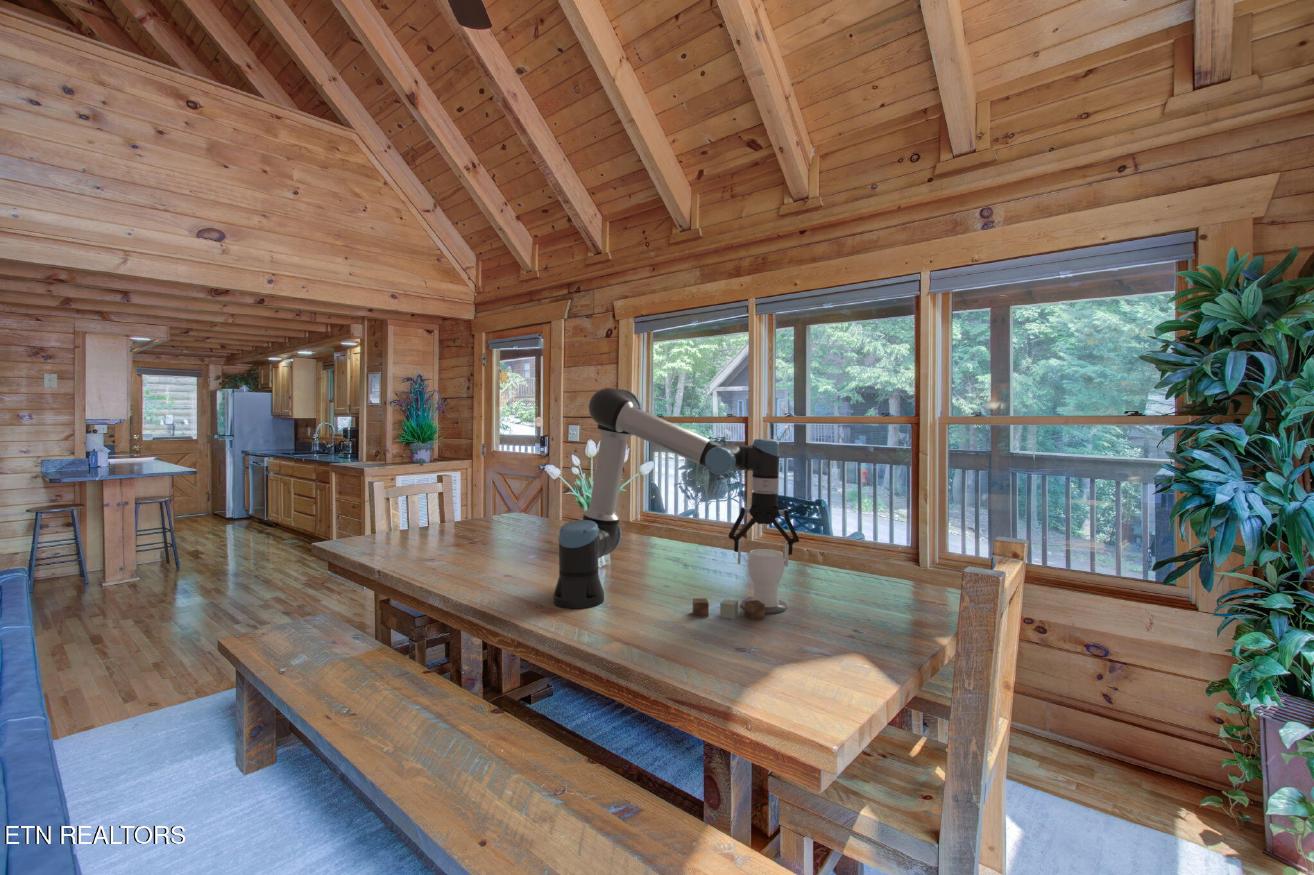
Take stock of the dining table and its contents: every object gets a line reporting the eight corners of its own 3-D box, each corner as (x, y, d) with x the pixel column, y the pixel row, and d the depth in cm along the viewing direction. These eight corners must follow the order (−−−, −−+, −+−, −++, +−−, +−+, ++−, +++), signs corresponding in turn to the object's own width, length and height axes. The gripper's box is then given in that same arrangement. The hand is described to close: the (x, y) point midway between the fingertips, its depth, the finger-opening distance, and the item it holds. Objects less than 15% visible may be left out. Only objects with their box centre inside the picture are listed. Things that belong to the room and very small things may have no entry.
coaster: (741, 612, 166) (741, 609, 166) (741, 598, 179) (741, 596, 179) (788, 614, 164) (788, 611, 164) (784, 600, 177) (784, 597, 177)
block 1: (694, 617, 162) (694, 602, 162) (692, 612, 166) (692, 598, 166) (708, 616, 163) (708, 602, 162) (706, 612, 167) (706, 598, 166)
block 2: (720, 617, 162) (720, 602, 162) (724, 612, 166) (724, 598, 166) (734, 619, 161) (734, 604, 161) (738, 614, 164) (738, 600, 164)
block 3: (751, 620, 160) (751, 605, 160) (744, 615, 164) (744, 601, 164) (764, 618, 161) (764, 604, 161) (757, 614, 165) (757, 600, 165)
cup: (782, 598, 176) (782, 549, 176) (786, 610, 166) (786, 557, 165) (746, 597, 177) (747, 548, 177) (748, 608, 167) (748, 556, 166)
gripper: (721, 491, 168) (719, 564, 169) (810, 495, 165) (807, 570, 166) (722, 488, 176) (719, 558, 177) (807, 492, 173) (804, 563, 173)
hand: (762, 564), depth 171 cm, fingers open, 13 cm apart
